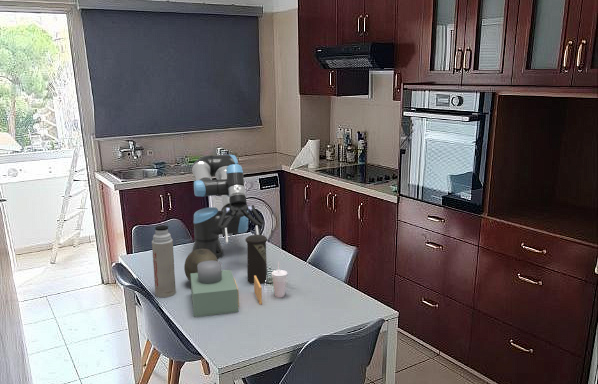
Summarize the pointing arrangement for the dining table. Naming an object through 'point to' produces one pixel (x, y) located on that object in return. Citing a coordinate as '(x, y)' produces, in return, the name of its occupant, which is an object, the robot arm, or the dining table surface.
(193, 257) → the cantaloupe
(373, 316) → the dining table surface
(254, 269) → the container
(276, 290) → the smoothie
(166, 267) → the thermos bottle
